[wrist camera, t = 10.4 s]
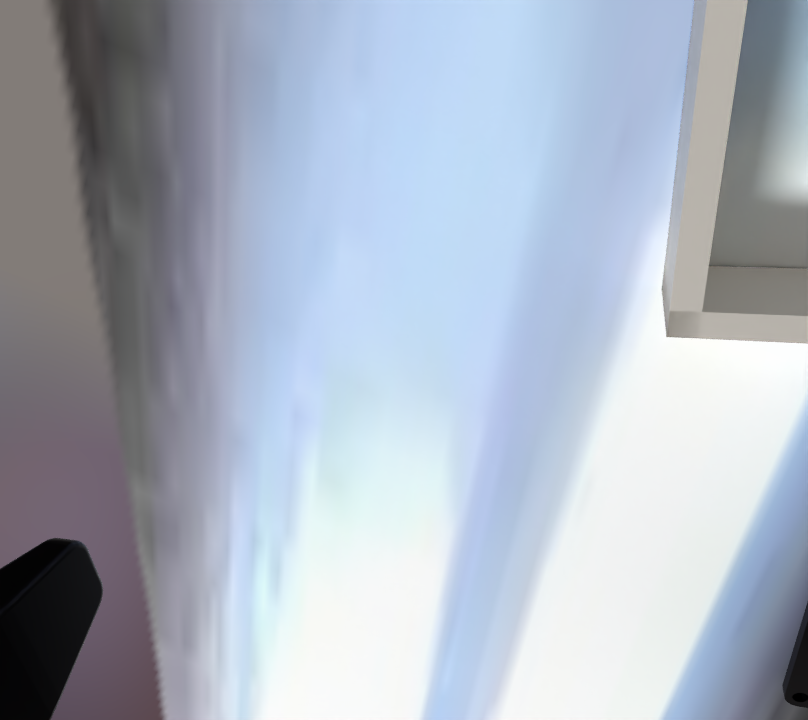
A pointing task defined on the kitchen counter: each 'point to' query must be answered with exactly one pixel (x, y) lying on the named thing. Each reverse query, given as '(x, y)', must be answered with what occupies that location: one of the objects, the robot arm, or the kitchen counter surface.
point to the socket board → (698, 200)
